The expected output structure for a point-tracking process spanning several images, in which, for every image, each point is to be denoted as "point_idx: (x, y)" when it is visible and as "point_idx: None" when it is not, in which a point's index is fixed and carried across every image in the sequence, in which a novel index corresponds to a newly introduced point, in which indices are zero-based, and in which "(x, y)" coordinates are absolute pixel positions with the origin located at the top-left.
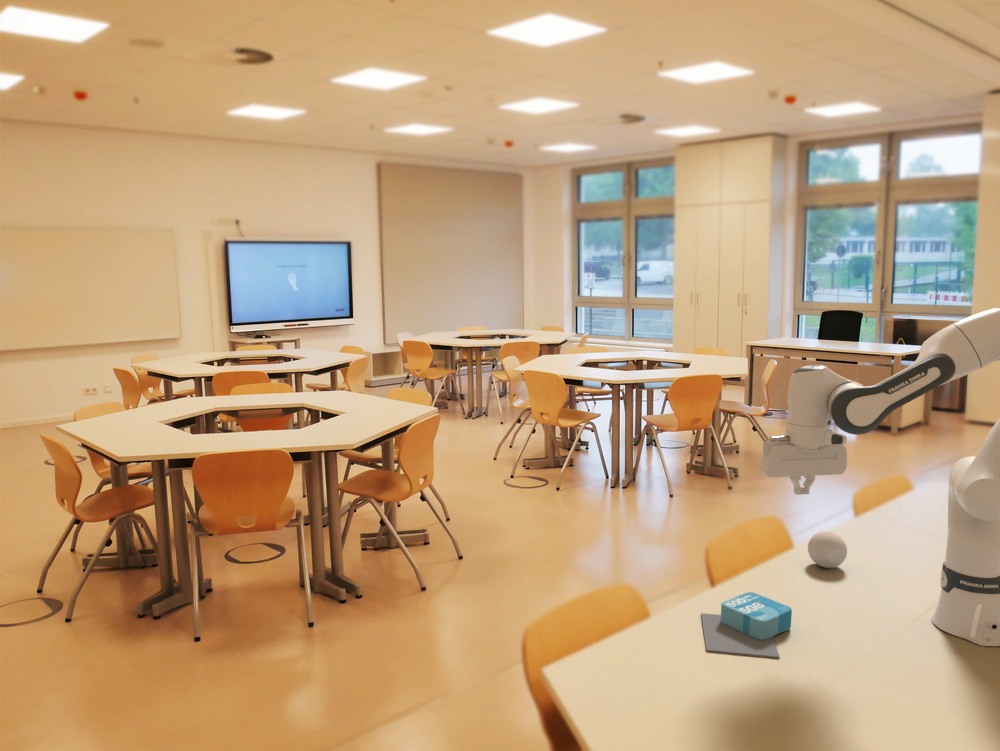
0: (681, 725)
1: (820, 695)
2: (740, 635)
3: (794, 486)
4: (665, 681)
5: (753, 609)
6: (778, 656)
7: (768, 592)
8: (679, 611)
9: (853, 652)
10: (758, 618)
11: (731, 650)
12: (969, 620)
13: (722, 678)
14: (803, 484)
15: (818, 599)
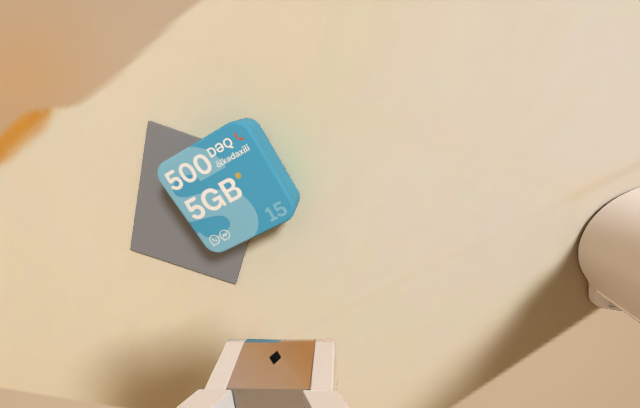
0: (75, 379)
1: None
2: None
3: (208, 388)
4: (64, 306)
5: (213, 207)
6: (234, 282)
7: (339, 20)
8: (109, 99)
9: (361, 283)
10: (209, 242)
11: (168, 257)
12: (619, 302)
13: (139, 312)
14: (307, 400)
15: (437, 77)
